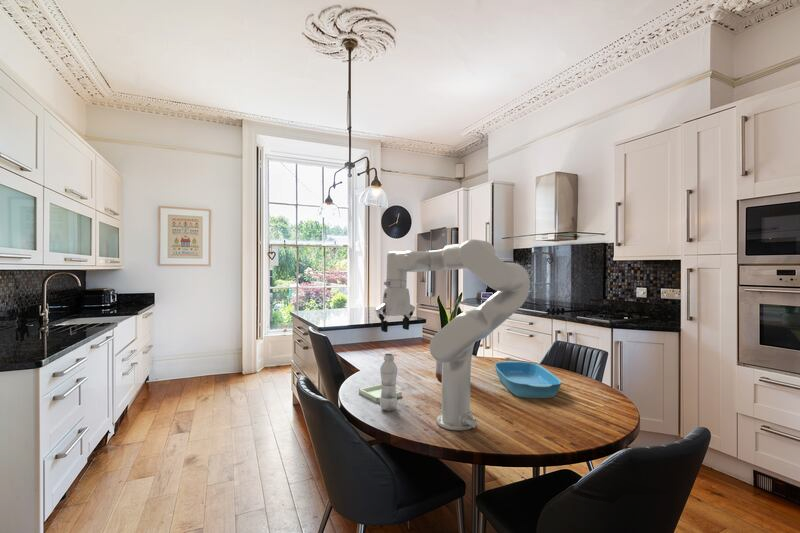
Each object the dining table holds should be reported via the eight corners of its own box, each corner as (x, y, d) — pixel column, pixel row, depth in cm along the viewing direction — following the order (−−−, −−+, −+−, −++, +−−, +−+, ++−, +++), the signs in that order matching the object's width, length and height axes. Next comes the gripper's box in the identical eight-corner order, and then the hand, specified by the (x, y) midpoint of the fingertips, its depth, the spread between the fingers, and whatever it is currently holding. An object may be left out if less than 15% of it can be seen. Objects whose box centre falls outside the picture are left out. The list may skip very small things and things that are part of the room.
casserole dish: (570, 403, 147) (570, 384, 147) (513, 402, 147) (513, 384, 147) (535, 375, 184) (535, 360, 184) (489, 375, 184) (489, 360, 183)
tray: (401, 396, 152) (401, 391, 152) (376, 403, 144) (377, 398, 144) (382, 388, 162) (382, 383, 162) (358, 393, 155) (358, 389, 155)
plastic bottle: (382, 413, 134) (382, 357, 134) (378, 406, 141) (378, 353, 141) (399, 412, 136) (400, 356, 136) (394, 405, 142) (395, 352, 142)
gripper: (382, 285, 133) (381, 334, 133) (420, 284, 143) (419, 330, 143) (371, 284, 139) (370, 330, 139) (409, 283, 149) (407, 326, 149)
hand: (395, 330), depth 141 cm, fingers open, 9 cm apart
